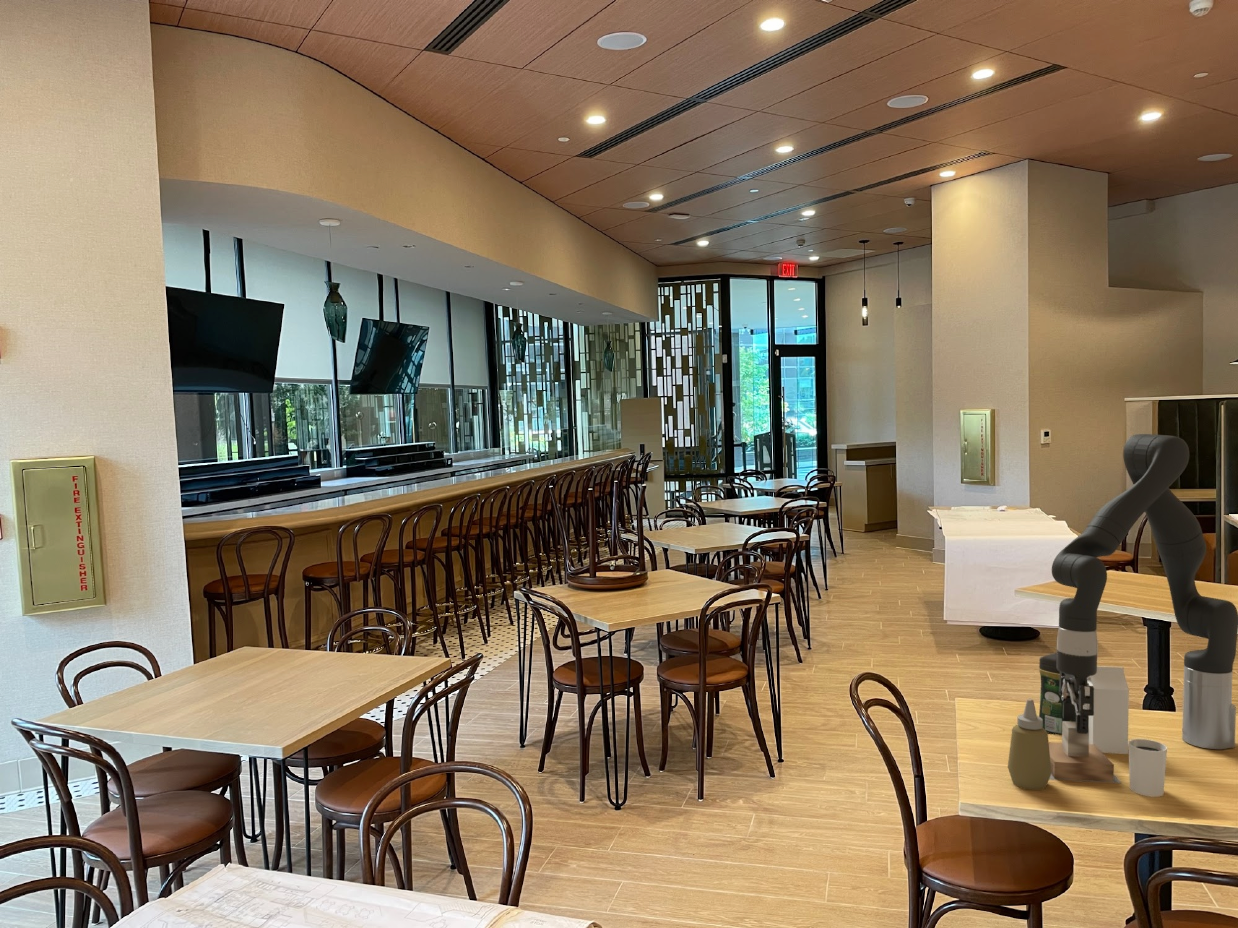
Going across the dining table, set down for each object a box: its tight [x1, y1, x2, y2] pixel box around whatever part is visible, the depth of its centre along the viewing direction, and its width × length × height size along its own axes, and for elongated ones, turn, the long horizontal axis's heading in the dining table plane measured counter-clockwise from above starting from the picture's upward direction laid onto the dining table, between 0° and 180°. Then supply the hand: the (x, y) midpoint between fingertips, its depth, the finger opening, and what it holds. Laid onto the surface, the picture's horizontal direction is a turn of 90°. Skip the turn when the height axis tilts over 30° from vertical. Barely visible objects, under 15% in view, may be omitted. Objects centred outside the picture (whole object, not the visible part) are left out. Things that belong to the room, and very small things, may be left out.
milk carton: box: [1083, 665, 1130, 755], centre depth 199 cm, size 7×7×19 cm
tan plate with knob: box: [1049, 721, 1115, 782], centre depth 187 cm, size 11×11×10 cm
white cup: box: [1128, 738, 1168, 798], centre depth 176 cm, size 7×7×10 cm
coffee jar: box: [1038, 651, 1076, 736], centre depth 212 cm, size 10×8×19 cm
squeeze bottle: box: [1007, 698, 1052, 791], centre depth 180 cm, size 8×8×18 cm
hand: (1075, 725), depth 187 cm, fingers open, 8 cm apart
